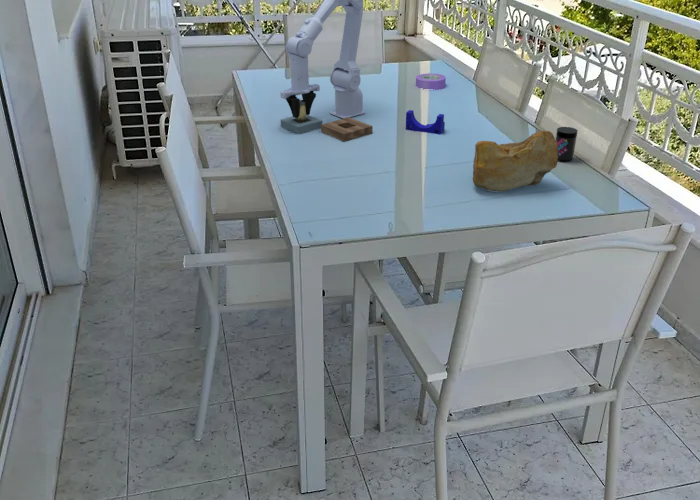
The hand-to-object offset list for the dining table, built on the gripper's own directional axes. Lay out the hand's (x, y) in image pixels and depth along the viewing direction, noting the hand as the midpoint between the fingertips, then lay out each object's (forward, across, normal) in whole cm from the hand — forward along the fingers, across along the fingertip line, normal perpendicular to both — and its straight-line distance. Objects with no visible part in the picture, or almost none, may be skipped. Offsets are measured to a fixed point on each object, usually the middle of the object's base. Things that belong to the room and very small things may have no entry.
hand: (301, 115), depth 234 cm
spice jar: (+4, 0, 0) cm, 4 cm away
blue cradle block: (+4, +30, -29) cm, 41 cm away
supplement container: (+4, +42, -74) cm, 85 cm away
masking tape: (+4, +69, +7) cm, 70 cm away
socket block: (+4, +8, -14) cm, 17 cm away
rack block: (+4, 0, 0) cm, 4 cm away
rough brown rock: (+4, +16, -74) cm, 76 cm away
